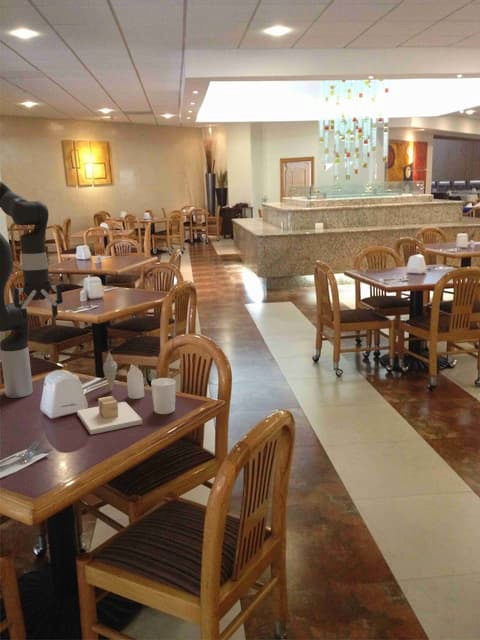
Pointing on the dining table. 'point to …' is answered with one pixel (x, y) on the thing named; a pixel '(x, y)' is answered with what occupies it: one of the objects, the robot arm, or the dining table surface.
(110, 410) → the oak block
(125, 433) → the dining table surface
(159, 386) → the white cup
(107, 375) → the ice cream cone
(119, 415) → the platter
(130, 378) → the white pointed crystal
